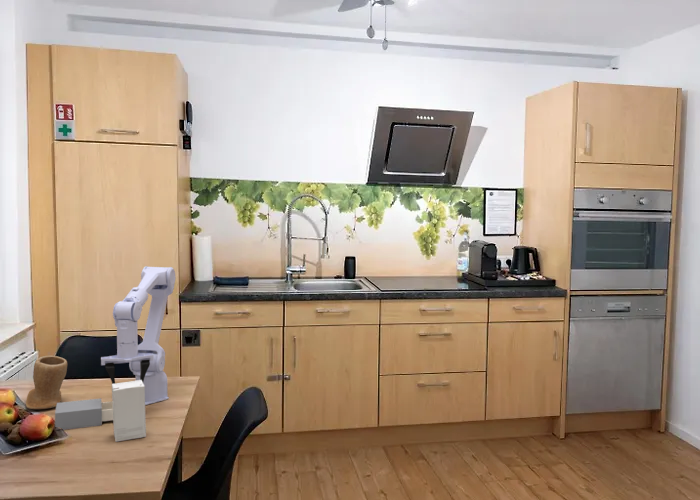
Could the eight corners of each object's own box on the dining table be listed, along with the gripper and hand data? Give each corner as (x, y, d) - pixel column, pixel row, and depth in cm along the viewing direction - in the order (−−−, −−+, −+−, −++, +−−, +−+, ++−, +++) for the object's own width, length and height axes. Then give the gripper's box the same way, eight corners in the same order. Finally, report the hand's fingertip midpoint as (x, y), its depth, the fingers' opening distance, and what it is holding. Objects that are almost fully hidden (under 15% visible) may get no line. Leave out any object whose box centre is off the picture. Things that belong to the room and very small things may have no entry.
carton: (55, 430, 167) (55, 413, 166) (57, 419, 175) (56, 402, 174) (101, 425, 171) (101, 408, 171) (101, 414, 179) (101, 398, 179)
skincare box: (143, 430, 169) (143, 378, 167) (146, 438, 163) (146, 385, 162) (111, 434, 165) (111, 382, 164) (113, 442, 159) (113, 388, 158)
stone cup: (67, 409, 183) (66, 361, 182) (23, 414, 178) (22, 365, 177) (69, 394, 197) (68, 349, 196) (28, 397, 192) (27, 352, 191)
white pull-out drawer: (84, 426, 169) (84, 395, 168) (85, 415, 178) (84, 385, 177) (132, 420, 174) (132, 390, 173) (130, 410, 183) (130, 380, 182)
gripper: (101, 346, 170) (101, 393, 171) (154, 342, 175) (154, 387, 177) (100, 340, 176) (101, 385, 177) (152, 337, 182) (152, 380, 183)
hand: (127, 386), depth 177 cm, fingers open, 7 cm apart
